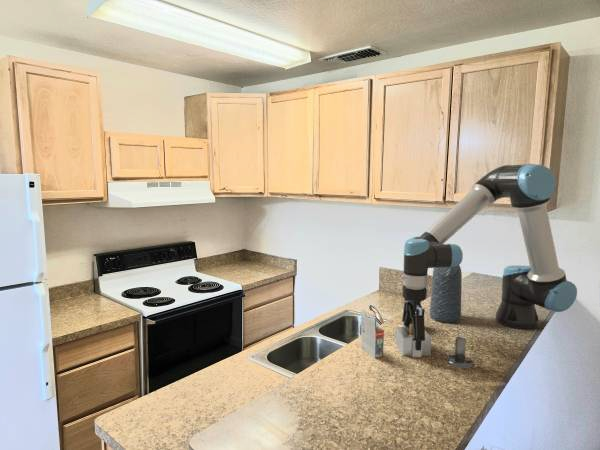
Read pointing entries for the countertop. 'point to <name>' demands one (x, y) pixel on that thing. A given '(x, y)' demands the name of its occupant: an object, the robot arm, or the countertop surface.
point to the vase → (446, 294)
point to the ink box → (371, 336)
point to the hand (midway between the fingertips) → (411, 351)
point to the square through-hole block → (411, 342)
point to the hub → (460, 355)
